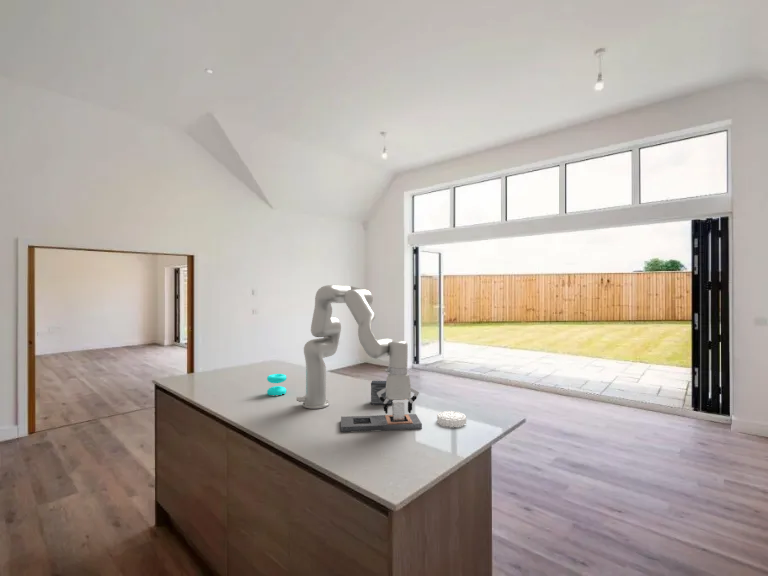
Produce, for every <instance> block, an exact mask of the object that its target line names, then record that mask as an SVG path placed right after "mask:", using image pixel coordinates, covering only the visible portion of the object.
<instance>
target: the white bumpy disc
mask: <svg viewBox="0 0 768 576" xmlns="http://www.w3.org/2000/svg"><path fill="white" fill-rule="evenodd" d="M436 415H437V416H436V419H437V420H436V421H437V424H438V425H440V426H442V425H443V426H442V427H445V426H450V427H449V428H451V427H452V428H454V427H457V426H463V425H464V424H467V416H466V414H465V413H463V412H460V411H454V410H445V411H440V412H438V414H436ZM453 426H454V427H453ZM464 426H465V425H464ZM464 426H463V427H464ZM457 428H458V427H457Z"/></svg>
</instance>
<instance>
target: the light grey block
mask: <svg viewBox="0 0 768 576" xmlns="http://www.w3.org/2000/svg"><path fill="white" fill-rule="evenodd" d="M391 407H392V408H391V412H392V413H391V415H392V422H405V421H404V414H405V402H404V400H393V401H392V405H391Z"/></svg>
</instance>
